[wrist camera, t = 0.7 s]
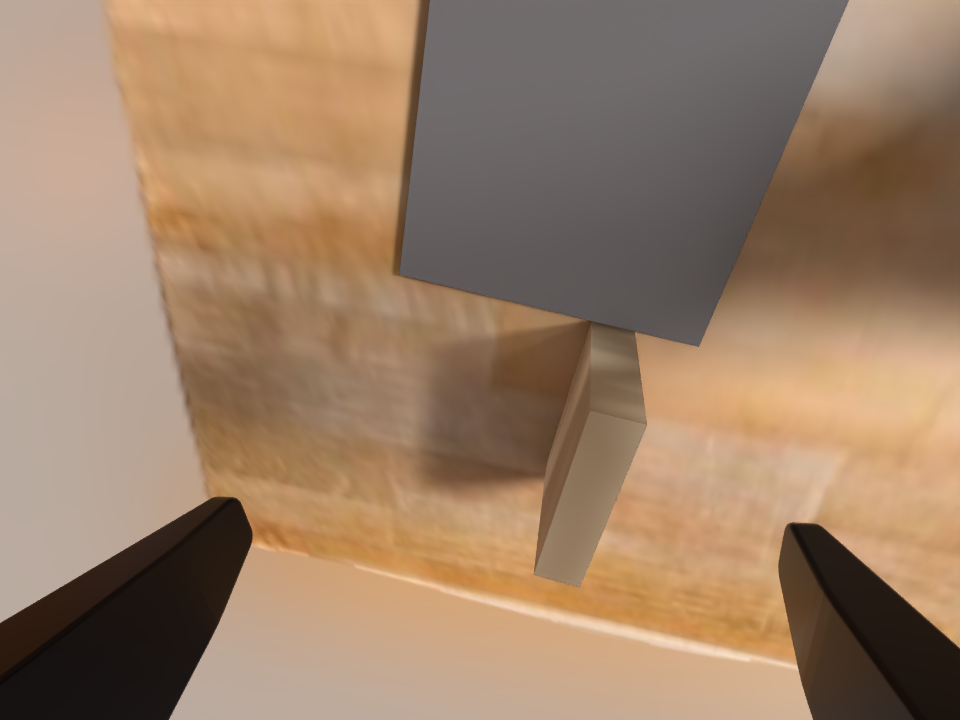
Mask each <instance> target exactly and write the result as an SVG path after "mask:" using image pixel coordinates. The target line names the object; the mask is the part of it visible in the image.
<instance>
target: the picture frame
mask: <svg viewBox="0 0 960 720" xmlns="http://www.w3.org/2000/svg"><path fill="white" fill-rule="evenodd" d="M646 426H647V421H646V413H645V406H644V398H643V391H642V383H641V375H640V368H639V360H638V353H637V345H636V338H635V331H631V330H627V329H623V328H619V327H614V326H610V325H606V324H602V323H598V322H594V321H591V323H590V326H589V329H588V333H587V336H586V339H585V342H584V345H583V349H582V352H581V355H580V358H579V361H578V365H577V368H576V371H575V374H574V377H573V381H572V384H571V387H570V390H569V393H568V397H567V400H566V403H565V406H564V410H563V413H562V416H561V419H560V422H559V426H558V429H557V432H556V435H555V438H554V442H553V445H552V448H551V451H550V454H549V458H548V461H547V465H546V474H545V482H544V491H543V499H542V508H541V516H540V525H539V533H538V542H537V551H536V559H535V568H534V575H535V576H539V577H542V578H546V579H550V580H554V581H557V582H561V583H565V584H568V585H572V586H576V587H579V588H580V586H581V584H582V581H583V579H584V576H585V574H586V571H587V569H588V567H589V564H590V562H591V559H592V557H593V554H594V552H595V550H596V547H597V545H598V542H599V540H600V538H601V535H602V533H603V530H604V528H605V525H606V523H607V521H608V518H609V516H610V513H611V511H612V509H613V506H614V504H615V501H616V499H617V496H618V494H619V492H620V489H621V487H622V484H623V482H624V479H625V477H626V475H627V472H628V470H629V467H630V465H631V463H632V460H633V458H634V455H635V453H636V450H637V448H638V446H639V443H640V441H641V438H642V436H643V434H644V431H645V429H646Z"/></svg>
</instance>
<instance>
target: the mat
mask: <svg viewBox="0 0 960 720" xmlns="http://www.w3.org/2000/svg"><path fill="white" fill-rule="evenodd" d="M848 1H849V0H430V4H429V13H428V22H427V31H426V40H425V49H424V58H423V67H422V76H421V85H420V94H419V103H418V112H417V121H416V130H415V139H414V148H413V157H412V166H411V175H410V183H409V192H408V201H407V210H406V219H405V228H404V237H403V246H402V255H401V264H400V273H399V275H402V276H406V277H410V278H415V279H419V280H423V281H427V282H431V283H435V284H440V285H444V286H448V287H452V288H456V289H460V290H465V291H469V292H473V293H477V294H481V295H485V296H490V297H494V298H498V299H502V300H506V301H510V302H515V303H519V304H523V305H527V306H531V307H535V308H539V309H544V310H548V311H552V312H556V313H560V314H564V315H569V316H573V317H577V318H581V319H585V320H589V321H594V322H598V323H602V324H606V325H610V326H614V327H619V328H623V329H627V330H631V331H635V332H639V333H644V334H648V335H652V336H656V337H660V338H664V339H668V340H673V341H677V342H681V343H685V344H689V345H693V346H698V347H699V345H700V343H701V340H702V338H703V336H704V334H705V331H706V329H707V327H708V324H709V322H710V320H711V317H712V315H713V313H714V310H715V308H716V306H717V304H718V301H719V299H720V297H721V294H722V292H723V290H724V287H725V285H726V283H727V280H728V278H729V276H730V273H731V271H732V269H733V267H734V264H735V262H736V260H737V257H738V255H739V253H740V250H741V248H742V246H743V243H744V241H745V239H746V237H747V234H748V232H749V230H750V227H751V225H752V223H753V220H754V218H755V216H756V213H757V211H758V209H759V207H760V204H761V202H762V200H763V197H764V195H765V193H766V190H767V188H768V186H769V183H770V181H771V179H772V176H773V174H774V172H775V170H776V167H777V165H778V163H779V160H780V158H781V156H782V153H783V151H784V149H785V146H786V144H787V142H788V140H789V137H790V135H791V133H792V130H793V128H794V126H795V123H796V121H797V119H798V116H799V114H800V112H801V110H802V107H803V105H804V103H805V100H806V98H807V96H808V93H809V91H810V89H811V86H812V84H813V82H814V79H815V77H816V75H817V73H818V70H819V68H820V66H821V63H822V61H823V59H824V56H825V54H826V52H827V49H828V47H829V45H830V43H831V40H832V38H833V36H834V33H835V31H836V29H837V26H838V24H839V22H840V19H841V17H842V15H843V12H844V10H845V8H846V6H847V3H848Z"/></svg>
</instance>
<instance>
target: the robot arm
mask: <svg viewBox="0 0 960 720" xmlns="http://www.w3.org/2000/svg"><path fill="white" fill-rule="evenodd" d="M252 537H253V534H252V529H251V526H250V524H249V521H248V519H247V516H246V514H245V512H244V509H243V507H242V504H241V502H240V501H239V500H238V499H237V498H234V497H214V498H211V499H210V500H208V501H206V502H204V503H203V504H201V505H199V506H198V507H196V508H194V509H193V510H191V511H189V512H188V513H186V514H184V515H182V516H181V517H179V518H177V519H176V520H174V521H172V522H171V523H169V524H167V525H165V526H164V527H162V528H160V529H159V530H157V531H155V532H154V533H152V534H150V535H149V536H147V537H145V538H143V539H142V540H140V541H139V542H137V543H135V544H133V545H132V546H130V547H128V548H126V549H125V550H123V551H121V552H120V553H118V554H116V555H115V556H113V557H111V558H110V559H108V560H106V561H104V562H103V563H101V564H99V565H98V566H96V567H94V568H93V569H91V570H89V571H88V572H86V573H84V574H83V575H81V576H79V577H77V578H76V579H74V580H72V581H71V582H69V583H67V584H66V585H64V586H62V587H60V588H59V589H57V590H55V591H54V592H52V593H50V594H49V595H47V596H45V597H43V598H42V599H40V600H38V601H37V602H35V603H33V604H32V605H30V606H28V607H27V608H25V609H23V610H21V611H20V612H18V613H16V614H15V615H13V616H12V617H10V618H8V619H6V620H4V621H3V622H1V623H0V720H169V718H170V716H171V714H172V713H173V710H174V709H175V707H176V705H177V703H178V701H179V699H180V697H181V695H182V694H183V692H184V690H185V687H186V686H187V684H188V682H189V680H190V678H191V676H192V674H193V672H194V670H195V669H196V667H197V665H198V663H199V661H200V659H201V657H202V655H203V653H204V651H205V649H206V648H207V645H208V644H209V642H210V640H211V638H212V636H213V634H214V632H215V630H216V628H217V626H218V624H219V621H220V619H221V617H222V614H223V612H224V610H225V607H226V605H227V603H228V600H229V598H230V595H231V593H232V590H233V588H234V585H235V583H236V581H237V578H238V575H239V573H240V571H241V568H242V566H243V563H244V561H245V559H246V556H247V553H248V551H249V549H250V546H251V543H252ZM778 568H779V578H780V583H781V588H782V593H783V598H784V603H785V607H786V612H787V617H788V622H789V626H790V631H791V636H792V641H793V646H794V650H795V655H796V660H797V665H798V669H799V673H800V677H801V682H802V686H803V689H804V692H805V696H806V699H807V702H808V705H809V708H810V711H811V714H812V717H813V720H960V648H959V647H958V646H957V645H956V644H955V643H954V642H952V641H951V640H950V639H949V638H948V637H947V636H946V635H944V634H943V633H942V632H941V631H940V630H939V629H938V628H937V627H935V626H934V625H933V624H932V623H931V622H930V621H929V620H927V619H926V618H925V617H924V616H923V615H922V614H921V613H920V612H918V611H917V610H916V609H915V608H914V607H913V606H912V605H911V604H909V603H908V602H907V601H906V600H905V599H904V598H903V597H901V596H900V595H899V594H898V593H897V592H896V591H895V590H894V589H892V588H891V587H890V586H889V585H888V584H887V583H886V582H884V581H883V580H882V579H881V578H880V577H879V576H878V575H877V574H875V573H874V572H873V571H872V570H871V569H870V568H869V567H867V566H866V565H865V564H864V563H863V562H862V561H861V560H860V559H858V558H857V557H856V556H855V555H854V554H853V553H852V552H851V551H849V550H848V549H847V548H846V547H845V546H844V545H843V544H841V543H840V542H839V541H838V540H837V539H836V538H835V537H834V536H832V535H831V534H830V533H829V532H828V531H827V530H826V529H824V528H823V527H822V526H820V525H818V524H815V523H795V522H792V523H789V524H787V526H786V528H785V531H784V536H783V541H782V547H781V552H780V557H779V566H778Z"/></svg>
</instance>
